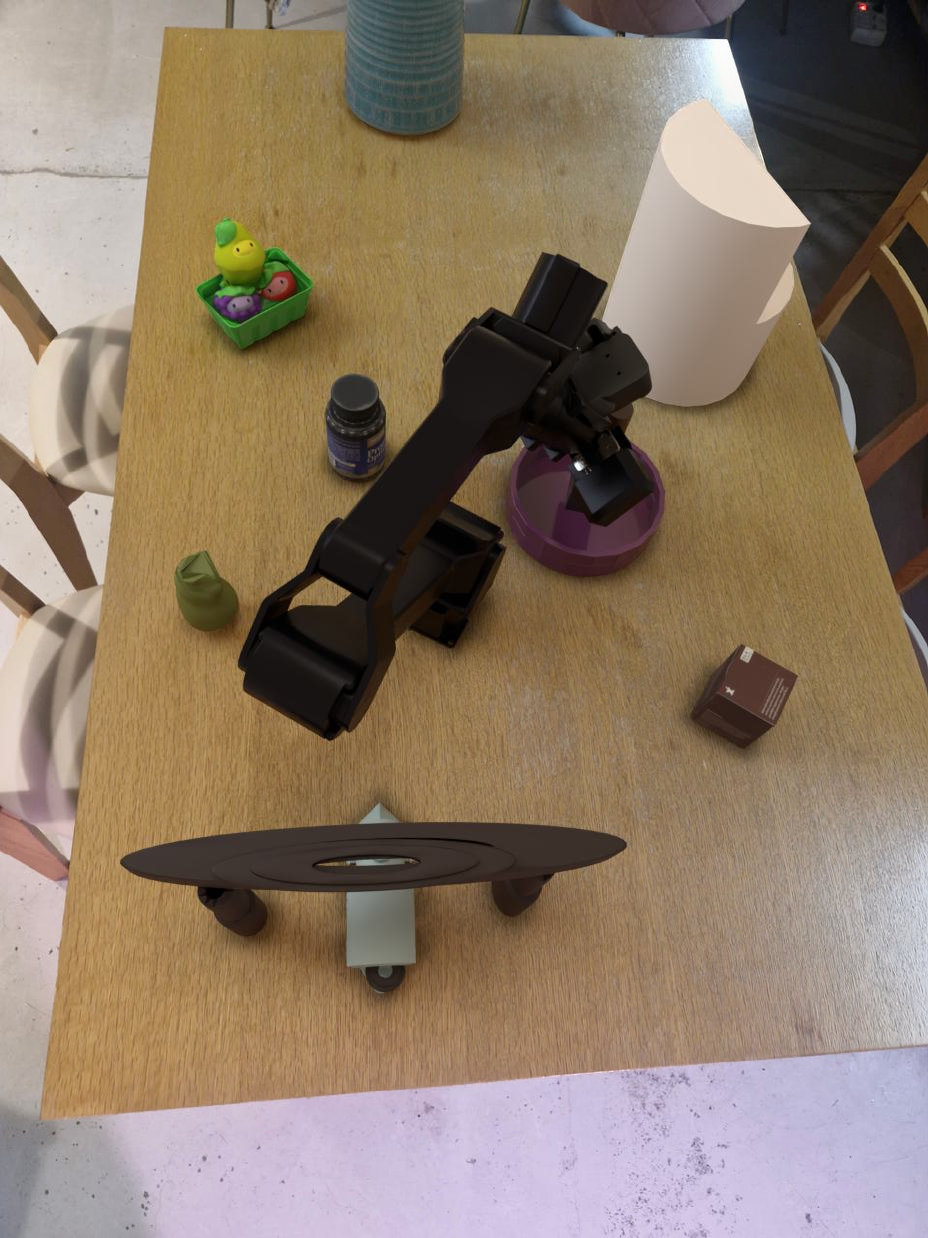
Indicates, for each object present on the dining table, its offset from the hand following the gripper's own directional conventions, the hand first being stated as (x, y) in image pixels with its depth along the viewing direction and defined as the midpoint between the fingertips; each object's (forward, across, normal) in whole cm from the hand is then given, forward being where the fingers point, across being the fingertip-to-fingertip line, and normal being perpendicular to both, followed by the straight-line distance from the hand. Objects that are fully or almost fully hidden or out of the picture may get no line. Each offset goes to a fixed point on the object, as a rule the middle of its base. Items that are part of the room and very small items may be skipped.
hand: (615, 447), depth 83 cm
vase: (+12, +69, +3) cm, 70 cm away
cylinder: (+22, +17, -7) cm, 29 cm away
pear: (-21, +2, +37) cm, 42 cm away
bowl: (+7, 0, +9) cm, 11 cm away
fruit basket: (-10, +38, +25) cm, 47 cm away
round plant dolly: (-17, -28, +33) cm, 47 cm away
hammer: (+4, 0, +6) cm, 7 cm away
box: (+9, -26, +6) cm, 28 cm away
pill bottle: (-7, +15, +23) cm, 28 cm away
